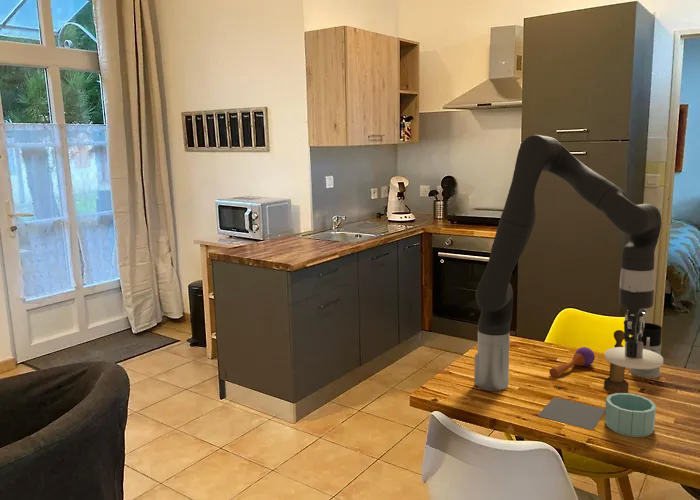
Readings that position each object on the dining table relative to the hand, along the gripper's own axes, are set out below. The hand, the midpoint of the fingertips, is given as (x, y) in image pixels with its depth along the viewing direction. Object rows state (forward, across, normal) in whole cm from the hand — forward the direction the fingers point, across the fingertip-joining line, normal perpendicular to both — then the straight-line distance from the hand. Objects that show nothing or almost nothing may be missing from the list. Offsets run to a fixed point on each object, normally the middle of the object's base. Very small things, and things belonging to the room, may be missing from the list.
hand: (633, 353), depth 143 cm
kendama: (+20, -31, -23) cm, 44 cm away
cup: (+20, 0, 0) cm, 20 cm away
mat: (+20, 0, -14) cm, 24 cm away
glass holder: (+20, -39, -3) cm, 44 cm away
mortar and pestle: (+20, -23, -8) cm, 31 cm away
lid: (+2, 0, 0) cm, 2 cm away
